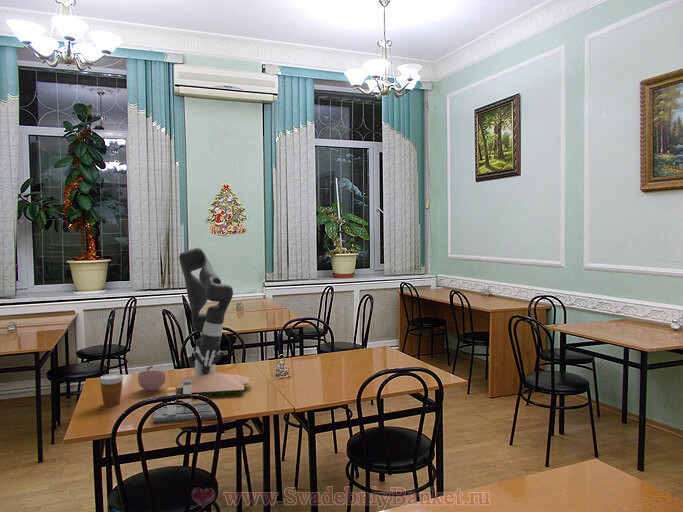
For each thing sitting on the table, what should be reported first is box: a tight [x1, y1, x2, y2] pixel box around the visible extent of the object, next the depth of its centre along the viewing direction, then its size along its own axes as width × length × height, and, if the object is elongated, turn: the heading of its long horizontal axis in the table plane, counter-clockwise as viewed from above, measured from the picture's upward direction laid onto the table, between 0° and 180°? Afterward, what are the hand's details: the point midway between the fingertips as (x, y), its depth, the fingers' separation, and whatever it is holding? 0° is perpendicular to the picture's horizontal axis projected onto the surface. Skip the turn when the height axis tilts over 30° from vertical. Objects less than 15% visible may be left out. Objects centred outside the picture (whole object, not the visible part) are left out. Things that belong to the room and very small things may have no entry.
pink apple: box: [137, 364, 167, 392], centre depth 236 cm, size 12×12×11 cm
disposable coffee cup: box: [98, 373, 124, 408], centre depth 216 cm, size 10×10×12 cm
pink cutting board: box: [175, 372, 251, 397], centre depth 237 cm, size 23×33×8 cm
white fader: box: [182, 380, 192, 407], centre depth 209 cm, size 3×3×11 cm
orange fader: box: [166, 386, 177, 415], centre depth 199 cm, size 3×3×11 cm
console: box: [152, 400, 218, 424], centre depth 205 cm, size 24×15×2 cm, turn 104°
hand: (204, 374), depth 205 cm, fingers closed
